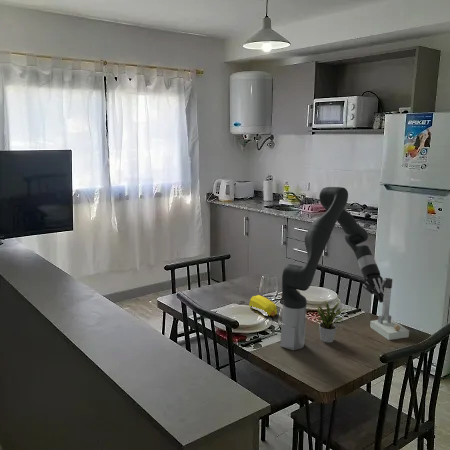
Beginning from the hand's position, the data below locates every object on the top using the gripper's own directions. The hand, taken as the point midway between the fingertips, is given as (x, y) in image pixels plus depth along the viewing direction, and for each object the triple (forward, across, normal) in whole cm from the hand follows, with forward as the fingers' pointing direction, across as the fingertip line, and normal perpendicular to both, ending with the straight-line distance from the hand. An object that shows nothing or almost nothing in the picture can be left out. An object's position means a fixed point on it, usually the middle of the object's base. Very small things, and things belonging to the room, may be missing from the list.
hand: (382, 301), depth 201 cm
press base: (+12, 0, +4) cm, 13 cm away
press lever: (+7, 0, +4) cm, 8 cm away
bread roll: (-20, -25, +37) cm, 48 cm away
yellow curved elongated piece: (-13, -44, +30) cm, 55 cm away
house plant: (+12, -28, +5) cm, 31 cm away
